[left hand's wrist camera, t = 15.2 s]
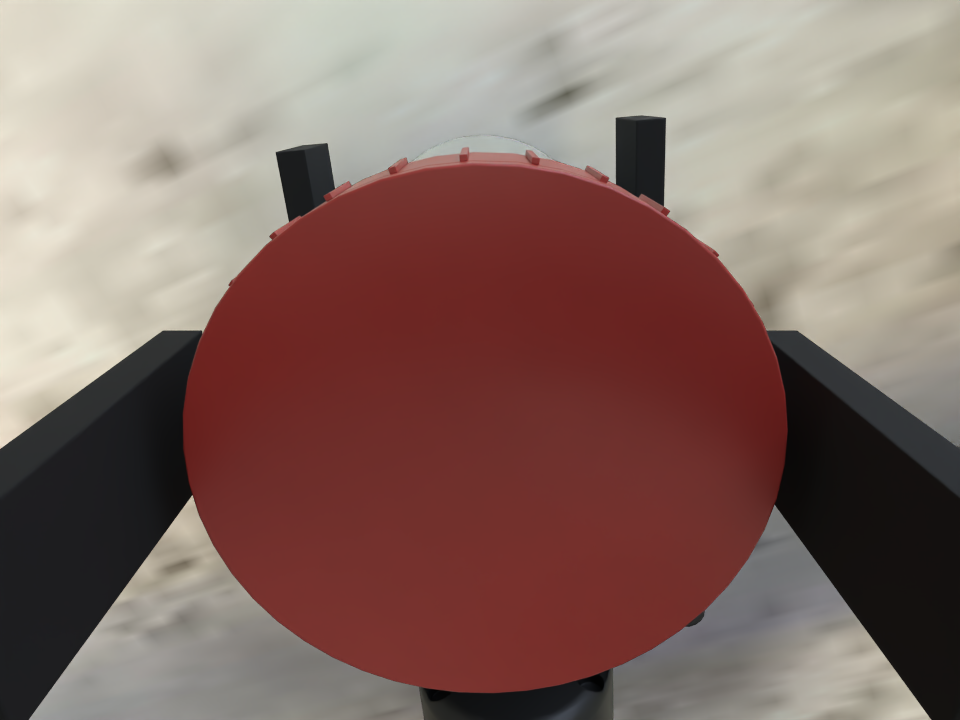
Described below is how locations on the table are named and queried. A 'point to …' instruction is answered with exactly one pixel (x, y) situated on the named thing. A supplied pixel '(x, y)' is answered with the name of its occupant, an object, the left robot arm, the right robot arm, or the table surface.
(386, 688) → the table surface
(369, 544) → the lid
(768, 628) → the table surface
